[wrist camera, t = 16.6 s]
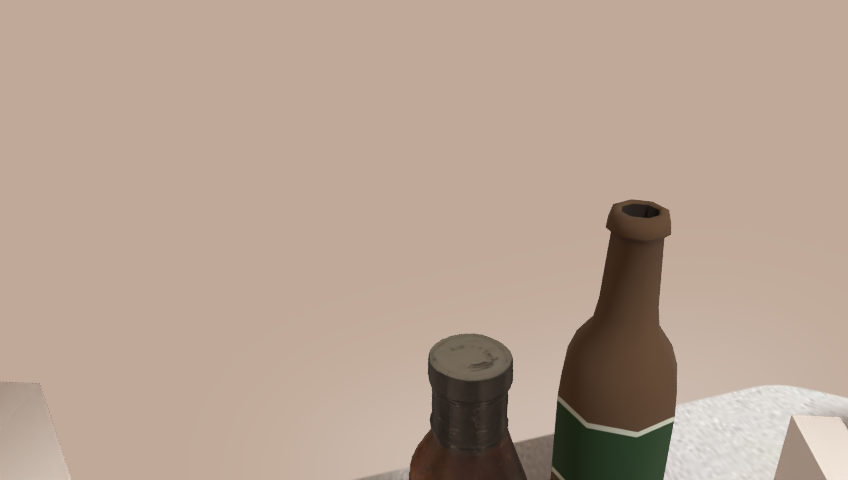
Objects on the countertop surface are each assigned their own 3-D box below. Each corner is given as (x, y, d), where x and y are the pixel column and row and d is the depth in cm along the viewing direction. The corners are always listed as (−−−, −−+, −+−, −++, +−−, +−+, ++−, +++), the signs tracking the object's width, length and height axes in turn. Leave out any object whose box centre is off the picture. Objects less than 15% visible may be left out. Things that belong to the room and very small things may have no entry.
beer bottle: (535, 476, 55) (556, 185, 44) (635, 468, 56) (680, 179, 45) (561, 563, 48) (593, 244, 37) (674, 553, 49) (739, 235, 38)
